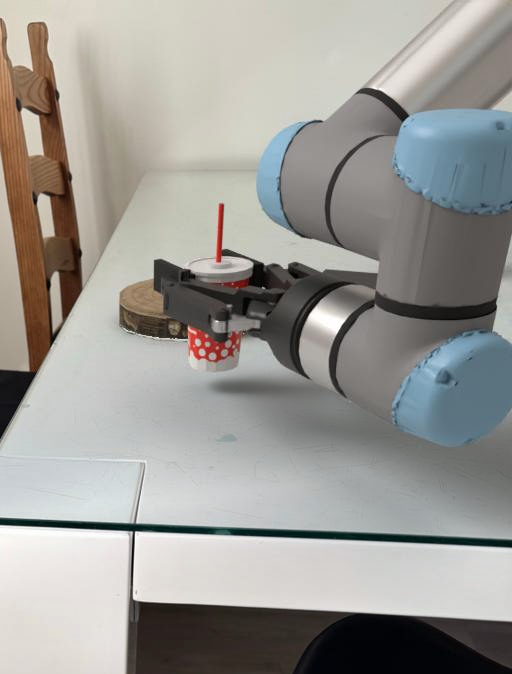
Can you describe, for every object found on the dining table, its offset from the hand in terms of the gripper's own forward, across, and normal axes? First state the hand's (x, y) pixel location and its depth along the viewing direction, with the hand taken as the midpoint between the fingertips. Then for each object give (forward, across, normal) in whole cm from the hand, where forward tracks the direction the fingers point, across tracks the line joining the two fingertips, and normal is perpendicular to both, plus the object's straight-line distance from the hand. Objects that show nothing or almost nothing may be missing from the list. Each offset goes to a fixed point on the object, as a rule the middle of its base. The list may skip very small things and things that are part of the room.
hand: (190, 269), depth 93 cm
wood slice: (+15, +8, -10) cm, 19 cm away
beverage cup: (-5, 0, -8) cm, 9 cm away
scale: (+10, +28, -10) cm, 31 cm away
